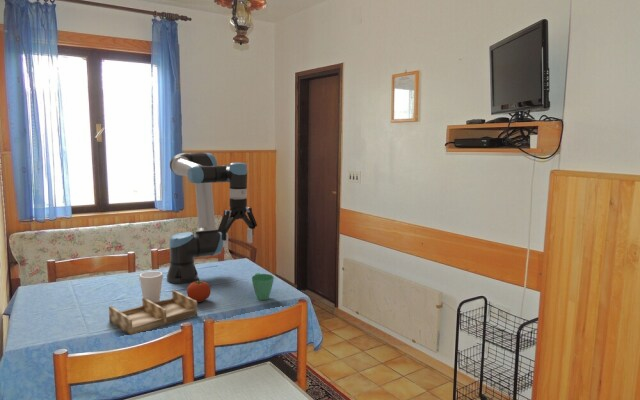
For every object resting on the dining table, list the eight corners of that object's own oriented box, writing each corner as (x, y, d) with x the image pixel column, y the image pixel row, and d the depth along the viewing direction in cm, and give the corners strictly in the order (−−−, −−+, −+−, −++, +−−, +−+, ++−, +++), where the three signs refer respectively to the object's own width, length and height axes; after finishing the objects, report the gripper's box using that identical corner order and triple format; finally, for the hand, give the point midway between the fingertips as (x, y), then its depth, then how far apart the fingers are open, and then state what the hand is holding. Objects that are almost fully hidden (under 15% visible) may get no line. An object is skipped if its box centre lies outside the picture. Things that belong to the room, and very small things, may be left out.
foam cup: (139, 307, 193) (138, 278, 191) (140, 300, 202) (139, 272, 200) (163, 305, 196) (162, 276, 194) (163, 298, 205) (162, 270, 203)
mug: (276, 300, 206) (276, 279, 204) (255, 303, 202) (255, 281, 200) (266, 290, 219) (266, 270, 218) (246, 292, 215) (246, 272, 214)
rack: (109, 321, 179) (108, 306, 178) (174, 303, 199) (174, 290, 199) (129, 335, 167) (129, 319, 166) (197, 315, 187) (196, 301, 186)
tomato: (214, 303, 201) (213, 281, 200) (190, 307, 196) (190, 284, 194) (206, 295, 210) (206, 274, 208) (184, 299, 204) (183, 278, 203)
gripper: (220, 201, 189) (220, 251, 192) (265, 196, 207) (264, 241, 210) (209, 199, 193) (209, 248, 197) (254, 194, 212) (253, 239, 215)
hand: (237, 244), depth 204 cm, fingers open, 13 cm apart
